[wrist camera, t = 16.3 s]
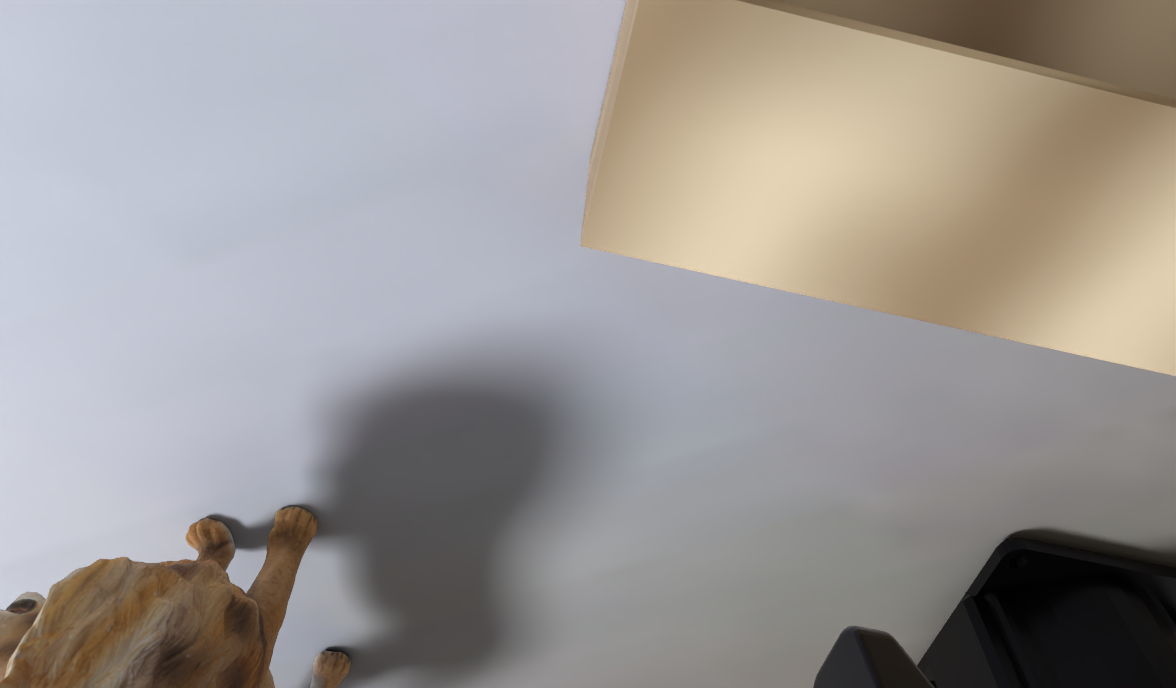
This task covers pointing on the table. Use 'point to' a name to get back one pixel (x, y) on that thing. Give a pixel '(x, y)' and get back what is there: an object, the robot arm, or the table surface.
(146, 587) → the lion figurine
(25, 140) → the table surface
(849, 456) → the table surface
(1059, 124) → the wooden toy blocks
